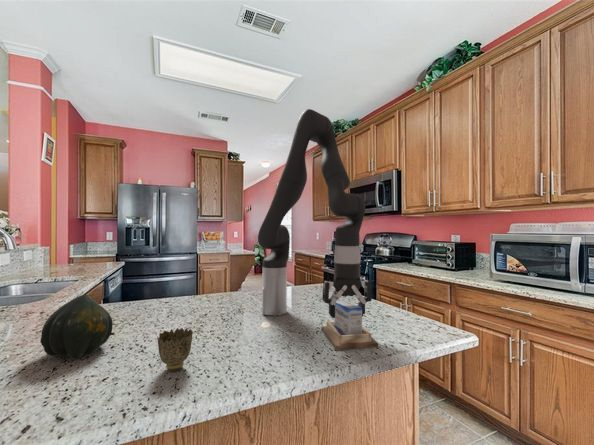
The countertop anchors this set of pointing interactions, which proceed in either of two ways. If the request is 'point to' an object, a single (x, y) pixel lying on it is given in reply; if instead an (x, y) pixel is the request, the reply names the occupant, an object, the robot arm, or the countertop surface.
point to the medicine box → (348, 318)
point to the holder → (348, 338)
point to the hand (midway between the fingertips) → (346, 316)
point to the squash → (76, 328)
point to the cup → (174, 347)
